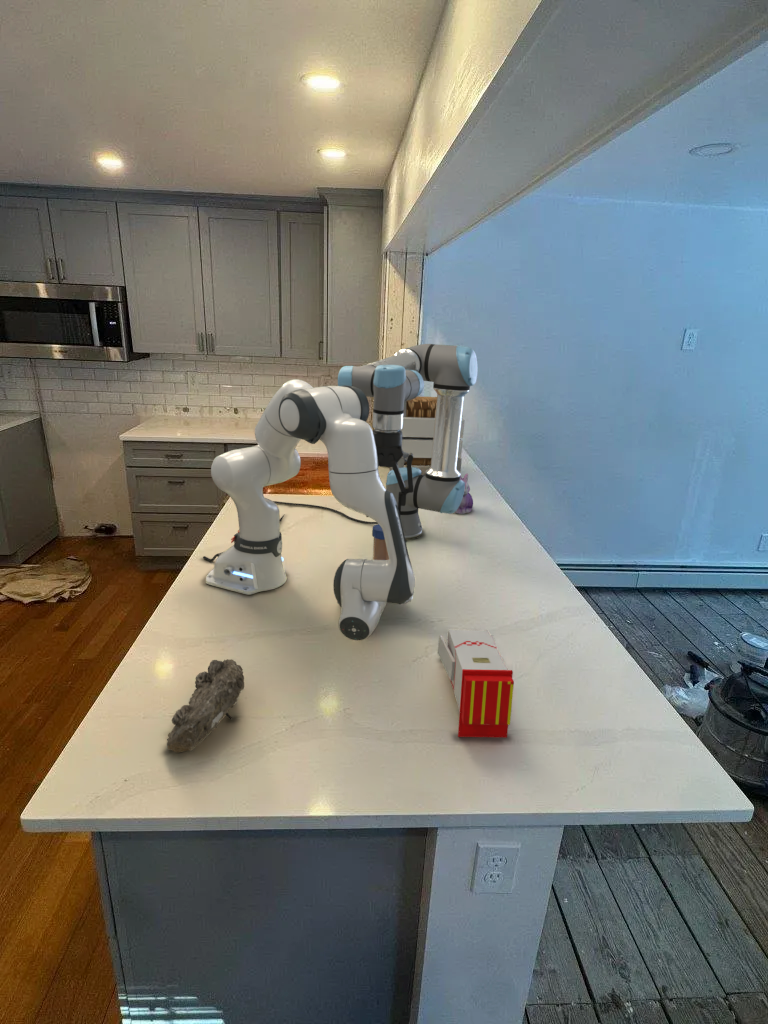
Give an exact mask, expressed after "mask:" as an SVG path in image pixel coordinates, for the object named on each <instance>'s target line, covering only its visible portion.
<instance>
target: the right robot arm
mask: <svg viewBox="0 0 768 1024" xmlns="http://www.w3.org/2000/svg"><path fill="white" fill-rule="evenodd" d="M477 357H478V356H477V354H476V352H475V350H474V349H473V348H472V347H470V346H464V345H451V344H438V343H437V344H436V343H435V344H434V343H421V344H416V345H413V346H408V347H405V348H402V349H400V350H398V351H396V352H395V353H394V355H392V356H391V355H390V356H389V357H385V358H383V359H379V360H376V361H373V362H370V363H366V364H363V365H360V366H358V365H356V366H355V365H344V366H342V367H341V368H340V369H339V371H338V374H337V386H344V385H347V386H353V387H356V388H358V389H360V390H361V391H363V392H364V394H365V395H366V397H367V398H373V403H372V404H373V405H372V406H373V407H372V425H371V428H372V431H373V435H374V439H375V444H376V450H377V457H378V468H379V467H381V468H384V467H388V468H390V467H392V468H393V470H391V471H390V470H389V471H388V473H387V475H386V482H385V489H386V490H387V491H389V492H391V493H392V494H393V495H394V497H395V500H396V503H397V506H398V510H399V514H400V518H401V523H402V527H403V532H404V536H405V541H410V540H415V539H418V538H420V537H421V536H422V535H423V525H422V523H421V518H420V515H419V509H420V510H424V511H430V512H437V513H440V514H449V515H452V514H454V513H455V512H456V510H457V509H458V507H459V506H460V503H461V501H462V498H463V495H464V490H465V483H464V481H462V480H460V475H461V474H460V473H459V472H458V470H457V469H456V467H457V458H458V449H459V439H461V438H460V430H461V420H462V419H463V410H464V402H465V401H464V400H465V396H466V395H467V394H468V393H469V392H470V388H471V387H473V386H474V385H476V383H477V378H478V373H479V371H478V370H479V368H478V367H479V365H478V359H477ZM425 382H431V383H433V384H432V389H433V390H434V391H435V393H436V397H437V403H436V414H435V425H434V436H433V446H432V457H431V465H430V466H429V468H427V469H426V470H425V474H422V470H421V468H419V467H416V466H412V460H413V453H405V452H403V450H402V431H401V429H402V428H403V414H404V401H408V400H411V399H412V400H413V399H415V398H416V397H417V396H418V397H420V395H421V394H422V392H423V391H424V387H425ZM401 457H404V461H405V462H407V465H406V467H405V466H404V467H403V468H399V467H398V463H397V462H398V461H399V460H400V459H401ZM272 501H273V502H274V503H275V504H276V505H277V504H279V505H287V506H299V507H308V508H309V507H310V508H317V509H323V510H327V511H331V512H334V513H337V514H339V515H341V516H343V517H345V518H346V519H349V520H351V521H354V522H357V523H362V524H367V525H377V524H378V523H377V522H376V521H365V520H361V519H357V518H354V517H352V516H349V515H347V514H345V513H343V512H342V511H339V510H338V509H337V510H336V509H334V508H330V507H326V506H322V505H316V504H307V503H297V502H296V503H295V502H287V501H285V502H284V501H276V500H272ZM365 517H366V518H369V517H368V516H366V515H365Z"/></svg>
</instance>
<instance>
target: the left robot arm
mask: <svg viewBox="0 0 768 1024" xmlns="http://www.w3.org/2000/svg"><path fill="white" fill-rule="evenodd" d="M369 416H370V403H369V400H368V397H367V396H366V395H365V394H364V392H363V391H361V390H360V389H358V388H356V387H353V386H347V385H344V386H338V385H321V386H316V387H313V386H312V385H311V384H310V383H309V382H307V381H305V380H302V379H297V378H296V379H289V380H288V381H286V382H284V384H282V386H280V387H279V389H278V390H277V391H276V392H275V394H274V395H272V397H271V399H270V400H269V402H268V403H267V405H266V407H265V409H264V411H263V412H262V414H261V416H260V417H259V419H258V421H257V423H256V425H255V427H254V438H255V441H256V443H257V444H256V445H253V446H249V447H242V448H236V449H232V450H229V451H226V452H224V453H221V454H220V455H217V456H216V457H215V458H214V459H213V461H212V463H211V467H210V476H211V479H212V481H213V483H214V485H215V487H217V488H218V490H220V491H222V492H223V493H225V494H226V495H228V496H229V497H230V498H231V500H232V502H234V505H235V508H236V512H237V519H238V530H237V532H236V533H235V534H234V535H233V537H231V539H230V543H231V544H232V543H234V544H233V545H231V546H230V547H229V548H227V549H226V550H224V551H221V552H219V553H216V554H214V556H213V557H212V558H210V557H207V556H205V555H203V556H202V559H203V560H206V561H207V562H213V561H214V566H213V569H211V570H210V571H209V572H208V573H207V575H206V576H205V584H206V585H209V586H213V587H217V588H221V589H224V590H228V591H232V592H236V593H239V594H243V595H249V596H250V595H251V596H252V595H254V594H257V593H259V592H266V591H271V590H274V589H278V588H279V587H281V586H283V585H284V584H286V582H287V580H288V579H287V578H288V577H287V574H286V571H285V567H284V563H283V562H284V557H283V556H282V552H283V537H282V532H281V522H280V519H281V517H280V508H279V506H278V505H277V503H274V502H273V501H274V500H271V499H269V498H268V497H265V496H264V491H263V490H264V488H265V487H268V486H272V485H277V484H282V483H284V482H286V481H289V480H291V479H293V478H294V477H296V476H298V474H299V472H300V471H301V465H302V461H301V456H300V453H299V451H298V450H297V446H298V445H299V443H300V442H301V440H303V441H304V442H307V443H308V444H311V445H315V444H317V442H319V441H320V442H322V443H323V444H324V446H325V447H326V452H327V462H328V463H327V466H328V481H329V487H330V492H331V494H332V496H333V498H334V499H335V500H336V501H337V502H338V503H339V504H341V505H342V506H344V507H345V508H346V509H348V510H351V511H354V512H355V513H358V514H361V515H364V516H365V517H366V516H368V517H367V518H369V519H371V520H373V521H374V522H377V523H378V524H379V525H380V526H381V528H382V530H383V533H384V537H385V542H386V546H387V551H388V555H389V560H373V559H367V558H346V559H344V560H343V561H342V562H341V563H340V564H339V566H338V567H337V569H336V571H335V573H334V577H333V584H332V585H333V594H334V598H335V600H336V603H337V604H338V606H339V607H340V615H339V619H338V620H339V621H338V628H339V631H340V633H341V634H342V635H343V636H344V637H345V638H347V639H349V640H351V641H363V640H366V639H368V638H369V637H370V636H371V635H373V633H374V632H375V630H376V628H377V626H378V624H379V622H380V621H381V620H380V619H381V616H382V614H383V612H384V611H385V608H386V605H387V604H392V605H393V604H394V605H405V604H407V603H411V602H412V601H413V598H414V594H415V589H416V576H415V572H414V568H413V566H412V562H411V558H410V555H409V551H408V546H407V540H405V536H404V532H403V527H402V523H401V518H400V514H399V510H398V506H397V503H396V500H395V497H394V495H393V494H392V493H391V492H389V491H387V490H386V486H384V484H383V482H382V480H381V477H380V476H381V475H380V472H379V467H378V457H377V450H376V444H375V439H374V435H373V427H372V425H371V424H370V423H368V422H367V421H368V418H369Z"/></svg>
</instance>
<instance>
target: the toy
mask: <svg viewBox="0 0 768 1024" xmlns="http://www.w3.org/2000/svg"><path fill="white" fill-rule="evenodd" d="M446 640H447V643H446V641H445V639H444V636H443V635H442V634H439V637H438V646H437V656H438V657H439V659H440V661H441V663H442V666H443V668H444V670H445V672H446V674H447V677H448V679H449V681H450V684H451V687H452V690H453V693H454V697H455V701H456V705H457V708H458V711H459V714H458V715H459V716H458V730H457V731H458V732H457V737H458V738H508V731H509V726H510V725H511V717H512V707H513V697H514V696H513V695H514V684H515V680H514V679H513V673H514V671H513V670H512V669H508V667H507V665H506V662H505V661H504V659H503V658H502V655H501V653H500V651H499V649H498V647H497V643H496V639H495V637H494V635H493V634H491V632H490V631H489V629H467V628H466V629H465V628H463V629H461V628H460V629H459V628H448V630H447V639H446Z"/></svg>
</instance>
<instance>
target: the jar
mask: <svg viewBox="0 0 768 1024" xmlns="http://www.w3.org/2000/svg"><path fill="white" fill-rule="evenodd" d="M372 560H389V555H388V551H387V546H386V542H385V540H382V539H377V538H374V537H373V548H372Z"/></svg>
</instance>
